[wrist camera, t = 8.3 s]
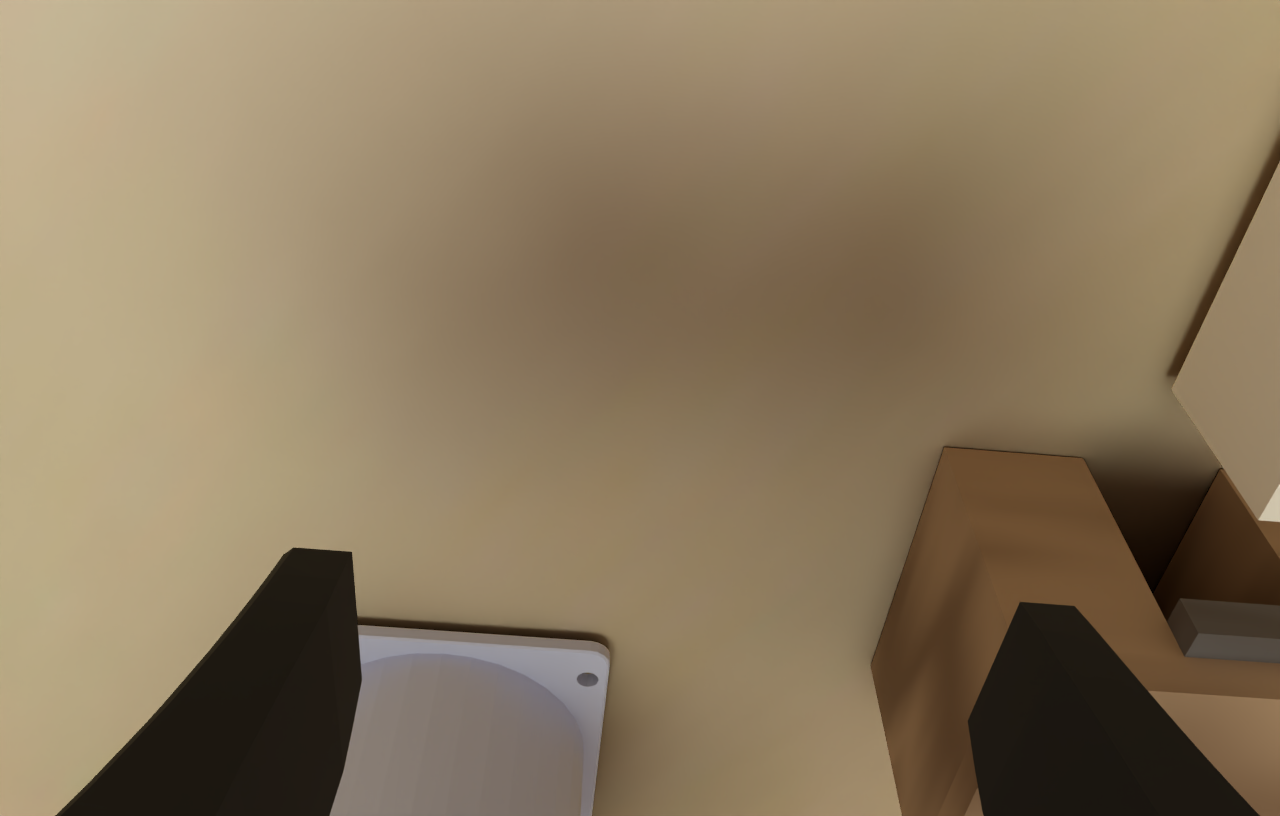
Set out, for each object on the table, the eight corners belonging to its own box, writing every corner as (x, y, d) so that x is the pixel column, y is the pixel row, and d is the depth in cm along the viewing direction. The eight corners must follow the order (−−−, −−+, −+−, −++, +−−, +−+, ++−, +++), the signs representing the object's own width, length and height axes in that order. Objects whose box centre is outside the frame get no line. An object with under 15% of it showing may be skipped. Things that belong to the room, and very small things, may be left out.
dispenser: (1220, 690, 27) (1347, 930, 22) (870, 666, 27) (921, 906, 22) (1369, 458, 23) (1569, 695, 18) (951, 424, 22) (1038, 657, 17)
